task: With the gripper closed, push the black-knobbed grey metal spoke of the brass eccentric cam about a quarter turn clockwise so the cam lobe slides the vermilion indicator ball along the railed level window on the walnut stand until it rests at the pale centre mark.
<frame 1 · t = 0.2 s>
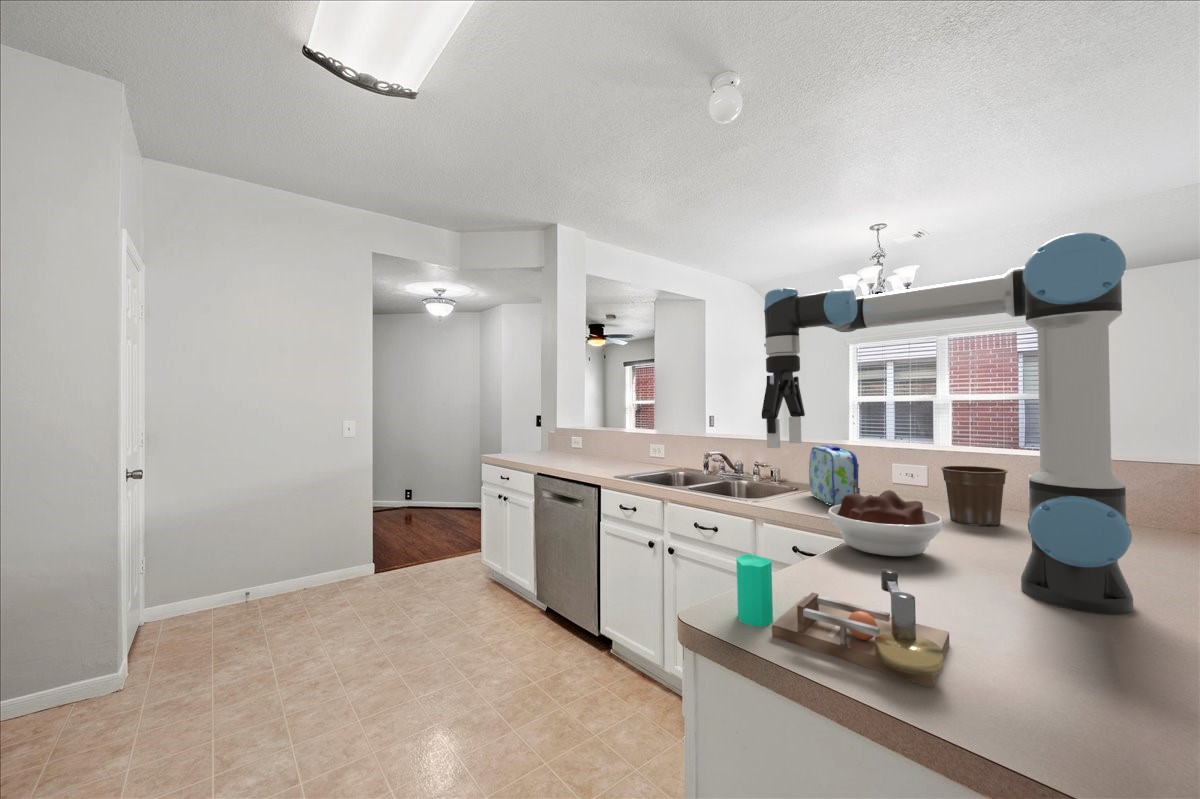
hand: (784, 445, 115), 28 cm above the counter, fingers open, 13 cm apart
candle: (755, 619, 86), on the counter
cam: (906, 615, 73), point 6 cm above the counter, hinge at 0.0°
lunch box: (833, 502, 180), on the counter
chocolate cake: (883, 551, 122), on the counter
plant pot: (974, 522, 148), on the counter
stand: (858, 640, 78), on the counter
ball: (862, 625, 74), point 4 cm above the counter, slide at 0.0 cm
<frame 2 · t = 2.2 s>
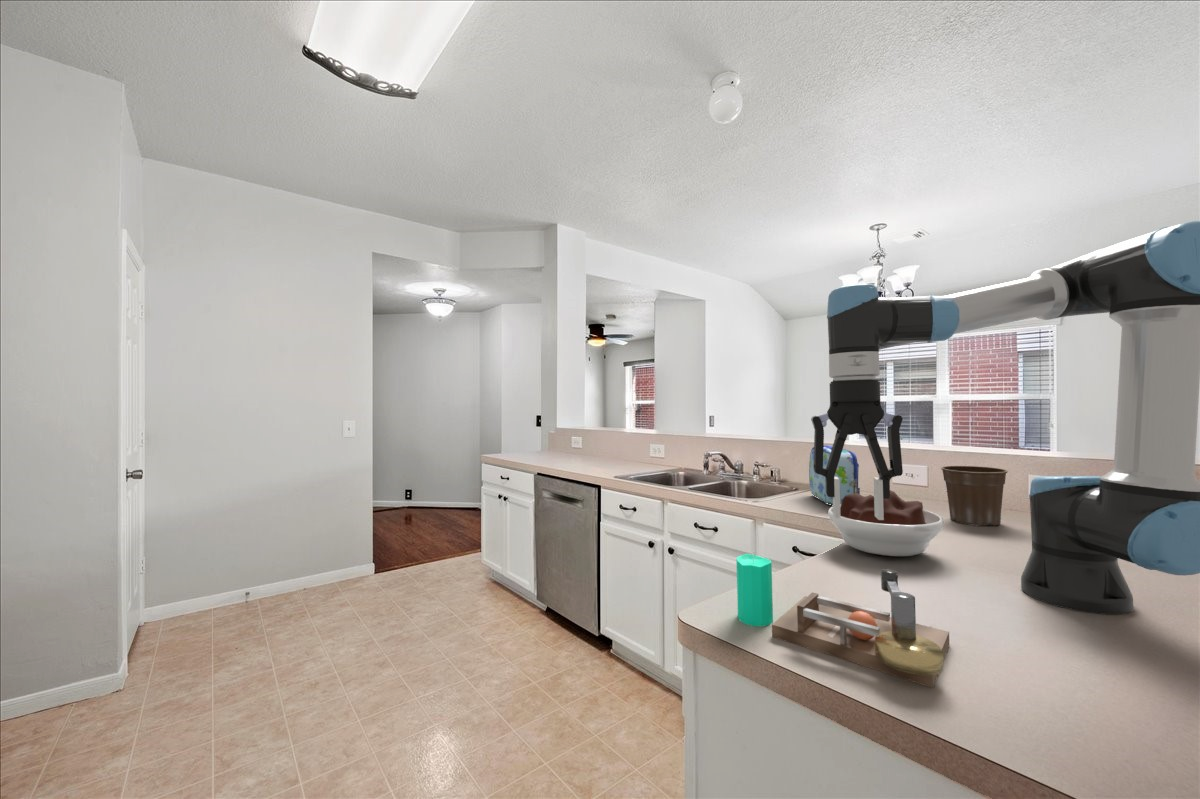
hand: (857, 516, 82), 19 cm above the counter, fingers open, 6 cm apart
nothing on the counter moved.
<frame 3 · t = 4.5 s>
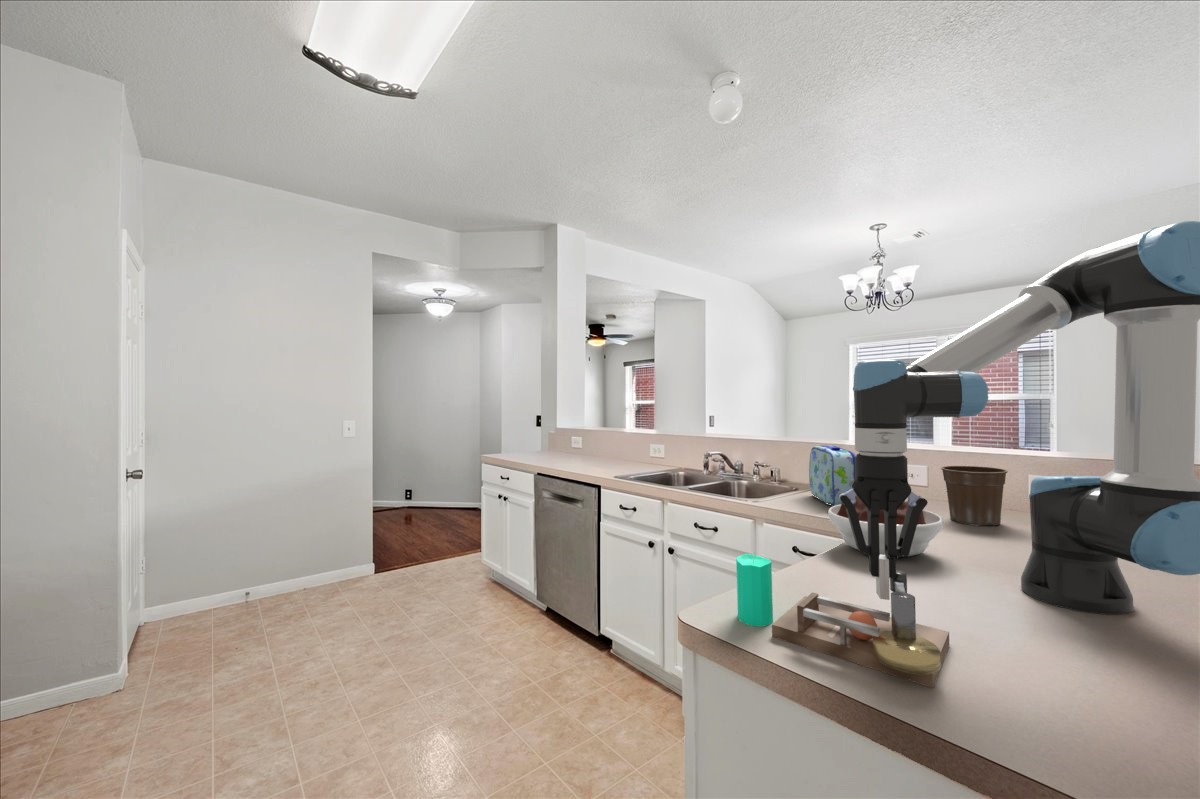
hand: (882, 596, 80), 6 cm above the counter, fingers closed
cam: (908, 616, 72), point 6 cm above the counter, hinge at 6.2°, touching gripper
everything else where it was.
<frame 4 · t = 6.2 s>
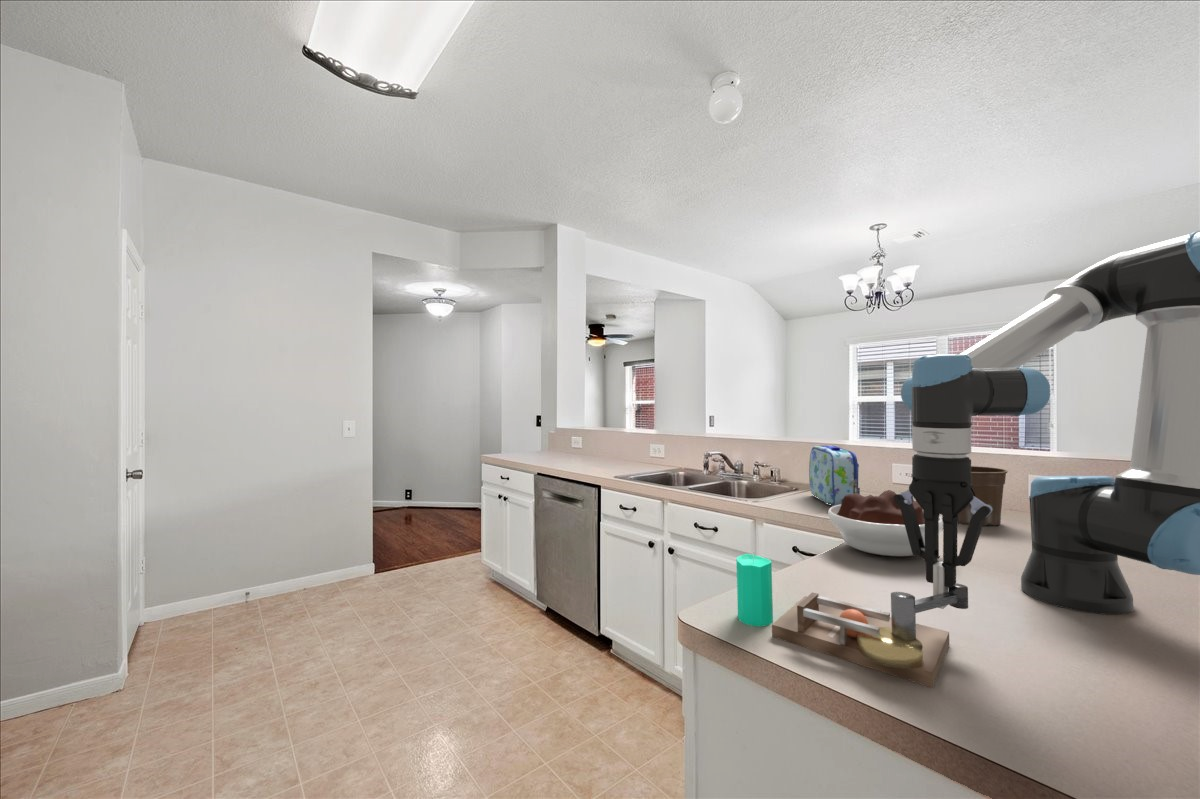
hand: (940, 605, 76), 6 cm above the counter, fingers closed
cam: (922, 621, 71), point 6 cm above the counter, hinge at 46.3°, touching gripper
ball: (853, 623, 75), point 4 cm above the counter, slide at 1.2 cm
everything else where it was.
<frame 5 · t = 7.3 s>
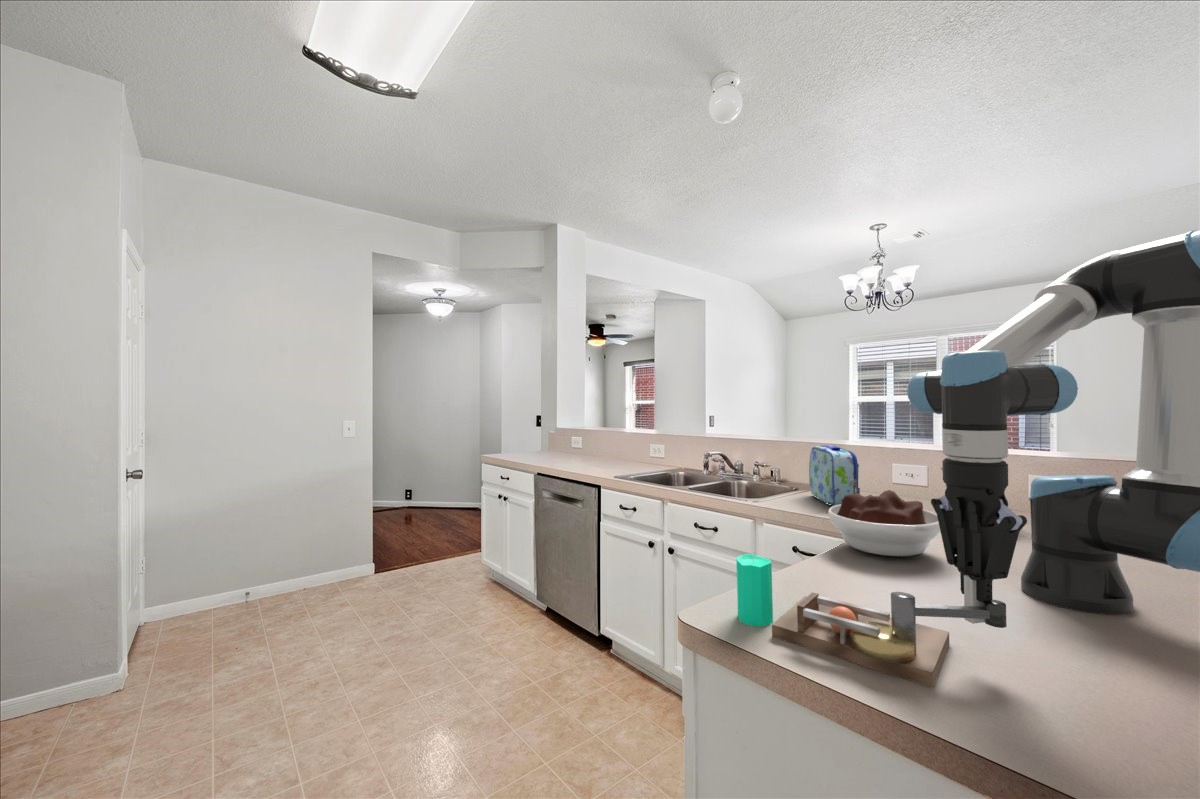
hand: (976, 620, 71), 6 cm above the counter, fingers closed
cam: (926, 625, 69), point 6 cm above the counter, hinge at 76.3°, touching gripper
ball: (842, 620, 76), point 4 cm above the counter, slide at 2.8 cm
everything else where it was.
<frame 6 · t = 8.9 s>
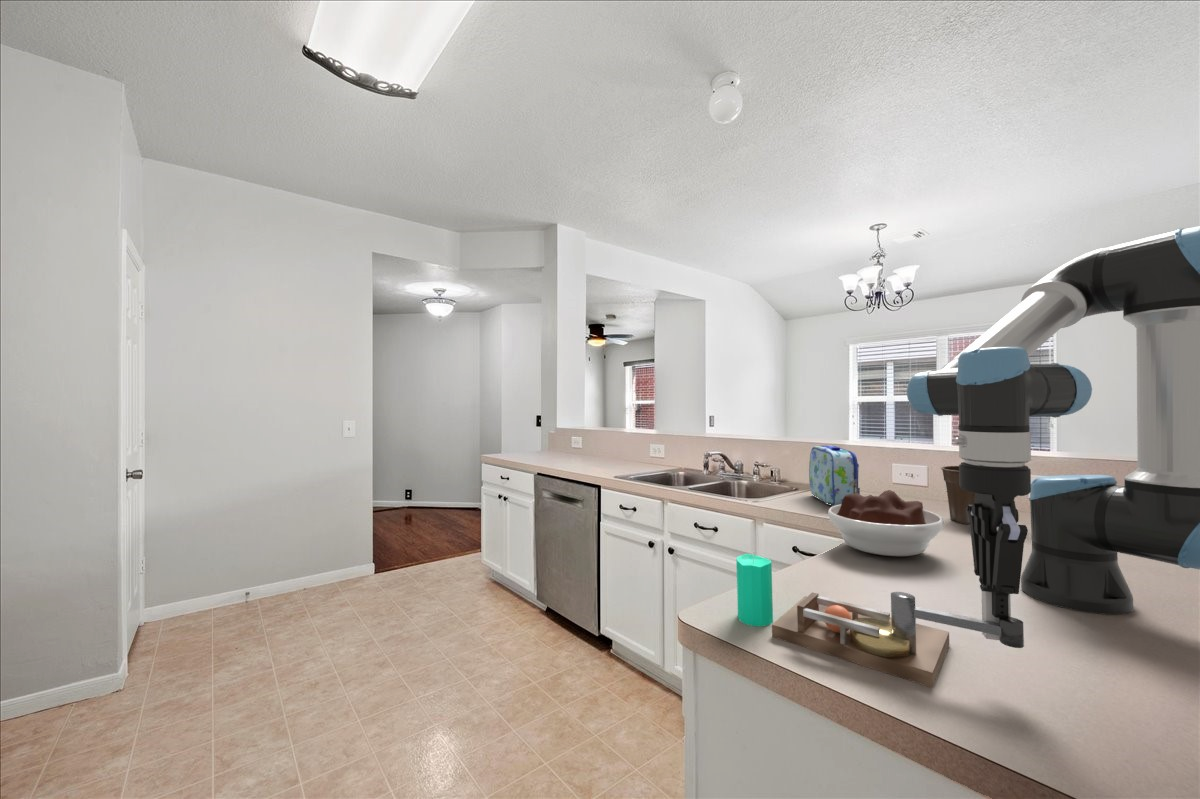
hand: (996, 637, 65), 6 cm above the counter, fingers closed
cam: (925, 629, 68), point 6 cm above the counter, hinge at 104.7°, touching gripper
ball: (837, 618, 77), point 4 cm above the counter, slide at 3.5 cm
everything else where it was.
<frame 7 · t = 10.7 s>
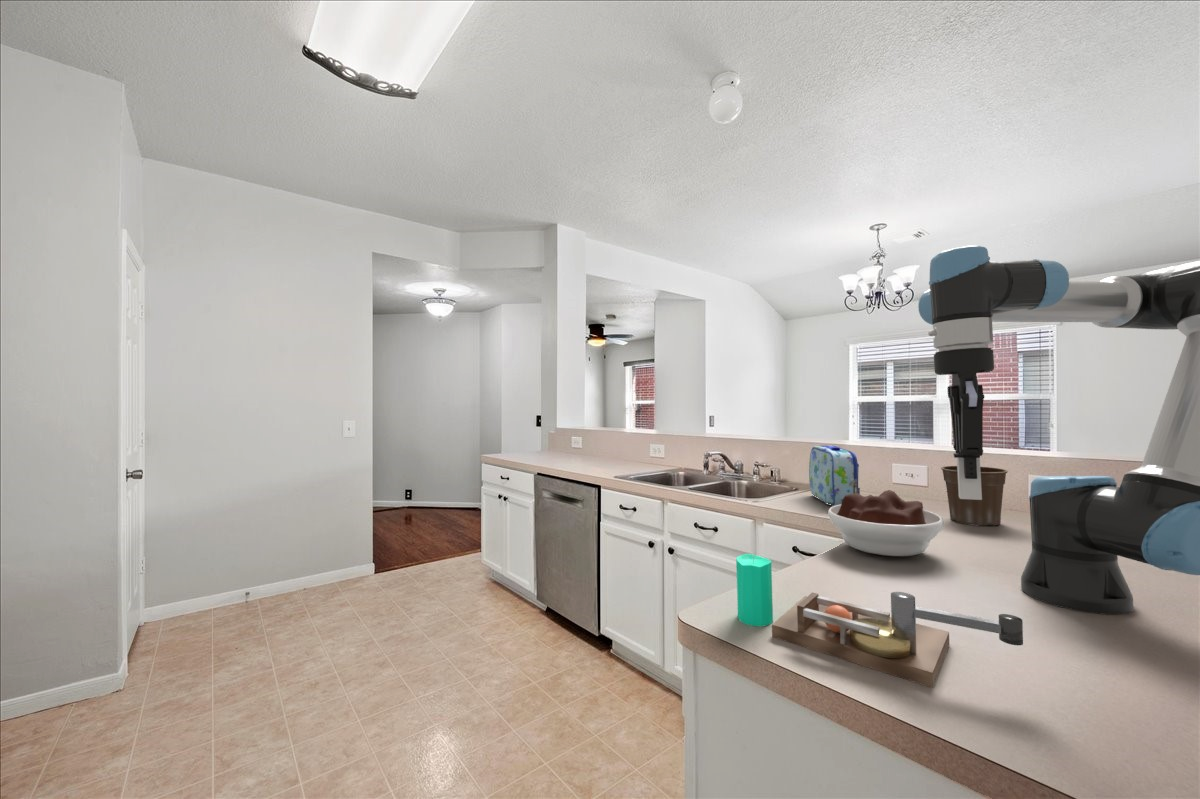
hand: (970, 498, 76), 23 cm above the counter, fingers closed
cam: (925, 629, 68), point 6 cm above the counter, hinge at 100.9°
everything else where it was.
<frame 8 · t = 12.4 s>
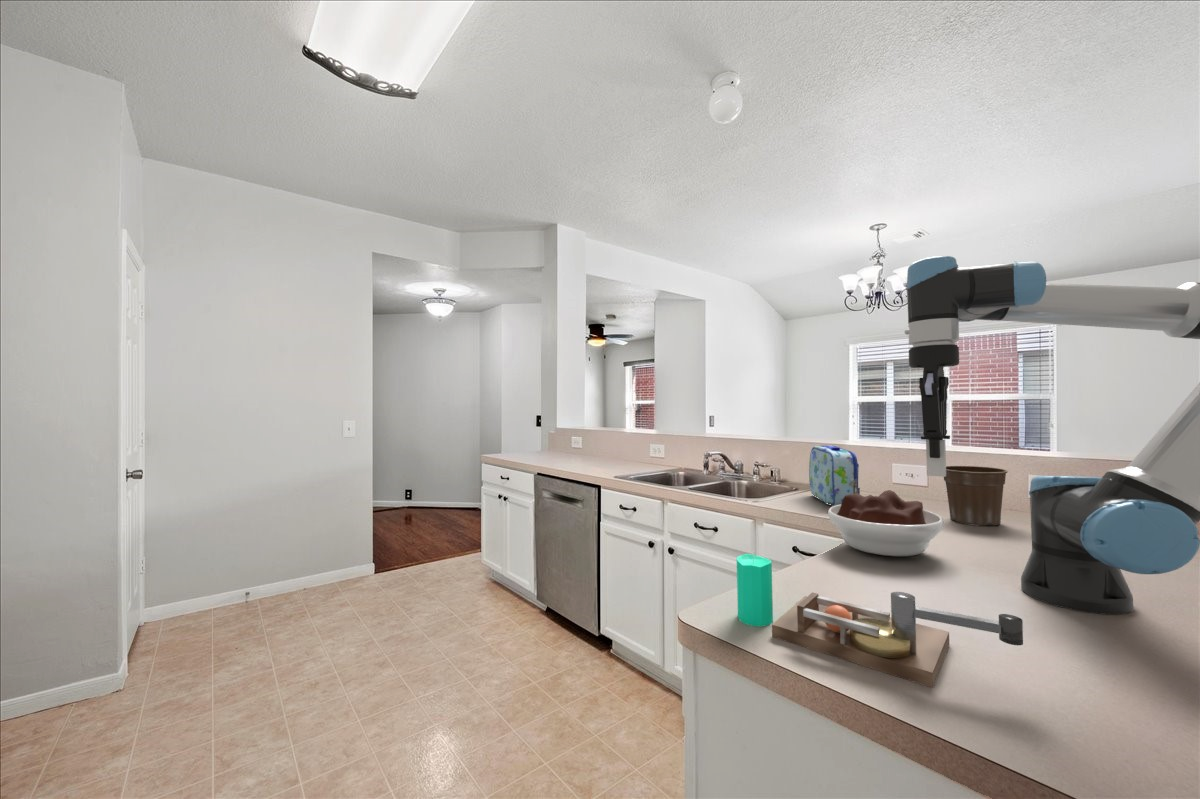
hand: (936, 475, 88), 24 cm above the counter, fingers closed
nothing on the counter moved.
at the end: cam at +101° (first picture: +0°); ball slide at 3.5 cm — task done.
